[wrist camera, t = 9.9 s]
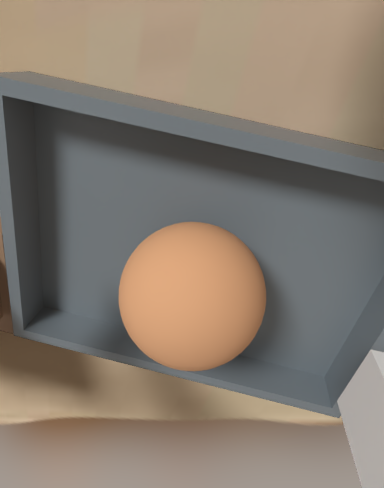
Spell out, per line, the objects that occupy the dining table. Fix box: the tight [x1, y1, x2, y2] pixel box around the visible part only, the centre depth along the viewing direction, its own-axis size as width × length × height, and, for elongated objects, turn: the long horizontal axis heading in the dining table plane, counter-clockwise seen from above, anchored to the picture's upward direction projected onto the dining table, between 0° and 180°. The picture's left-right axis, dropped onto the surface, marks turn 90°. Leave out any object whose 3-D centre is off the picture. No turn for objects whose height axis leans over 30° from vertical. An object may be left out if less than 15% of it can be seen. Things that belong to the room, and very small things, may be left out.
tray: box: [0, 71, 384, 418], centre depth 16 cm, size 18×13×3 cm
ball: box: [119, 222, 266, 371], centre depth 14 cm, size 6×6×6 cm
